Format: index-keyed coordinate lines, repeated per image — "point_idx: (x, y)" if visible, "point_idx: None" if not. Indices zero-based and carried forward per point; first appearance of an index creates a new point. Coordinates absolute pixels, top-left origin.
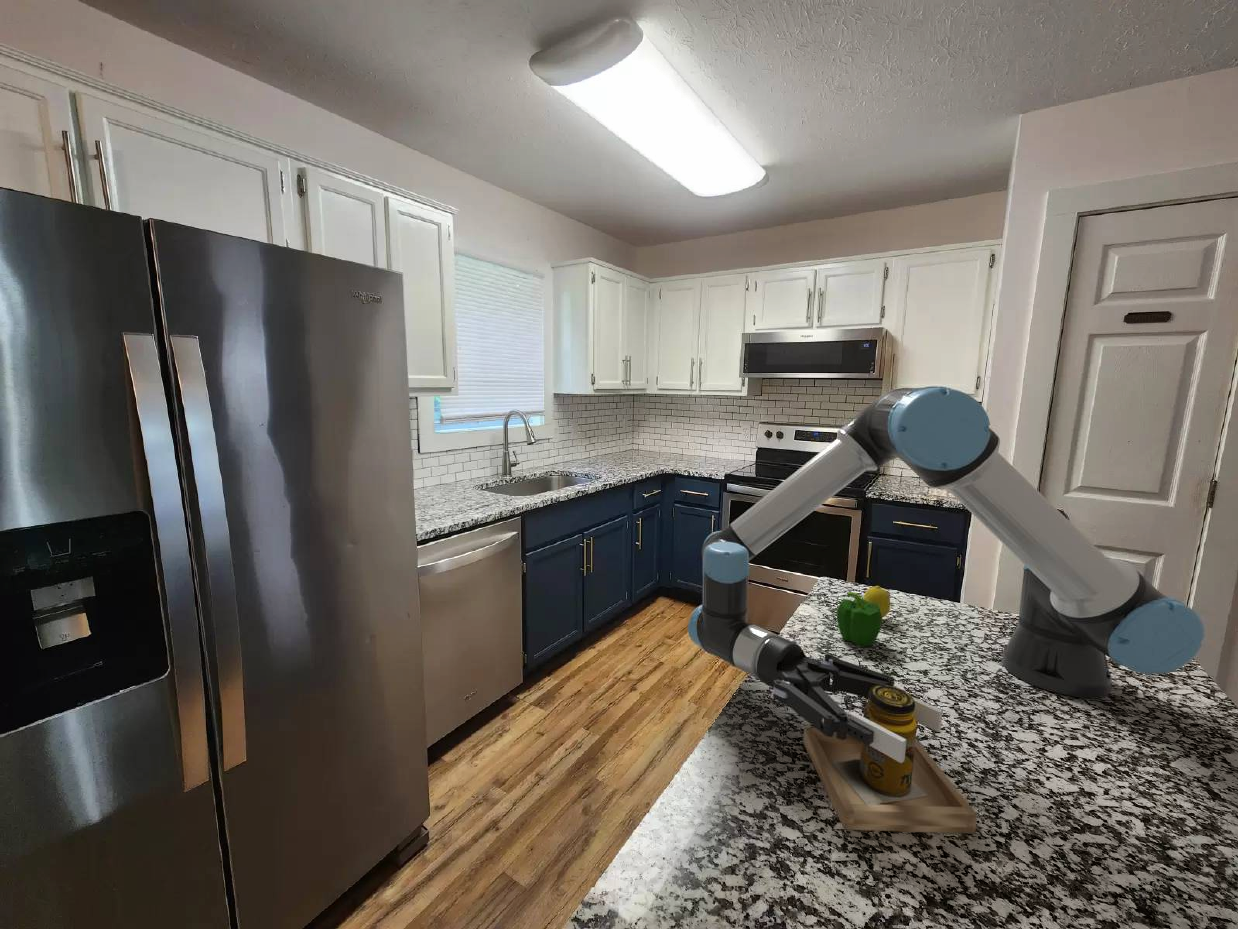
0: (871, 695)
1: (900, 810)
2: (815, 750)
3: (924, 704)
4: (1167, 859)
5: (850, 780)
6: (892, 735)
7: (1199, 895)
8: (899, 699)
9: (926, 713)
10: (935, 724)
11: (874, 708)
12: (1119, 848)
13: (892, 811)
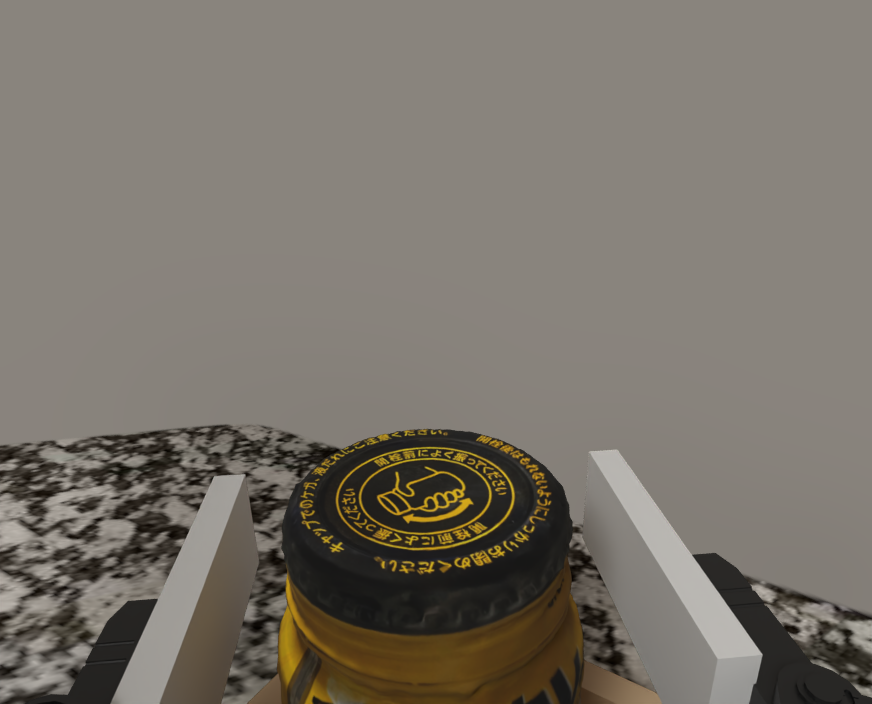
0: (553, 544)
1: (597, 671)
2: None
3: (219, 520)
4: (160, 462)
5: None
6: (629, 477)
7: (226, 437)
8: (421, 466)
9: (238, 543)
10: (253, 543)
11: (565, 571)
12: (184, 492)
13: (629, 683)
